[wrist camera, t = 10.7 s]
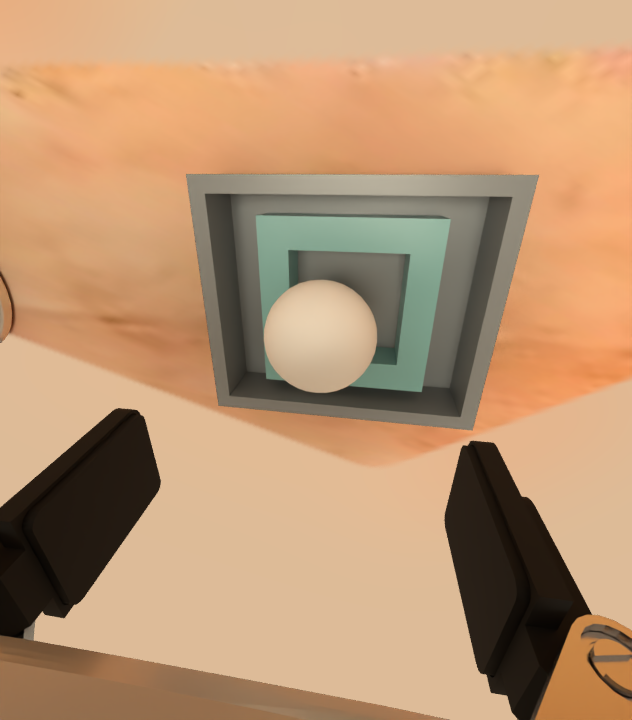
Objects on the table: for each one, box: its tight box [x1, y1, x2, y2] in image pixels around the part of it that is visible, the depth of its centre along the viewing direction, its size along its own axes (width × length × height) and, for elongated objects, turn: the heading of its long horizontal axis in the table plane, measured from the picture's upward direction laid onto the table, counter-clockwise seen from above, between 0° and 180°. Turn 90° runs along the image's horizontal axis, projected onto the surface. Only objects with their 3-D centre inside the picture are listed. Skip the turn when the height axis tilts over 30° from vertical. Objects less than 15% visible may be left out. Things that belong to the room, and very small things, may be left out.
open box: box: [186, 174, 539, 430], centre depth 24 cm, size 19×16×5 cm
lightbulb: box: [264, 280, 377, 393], centre depth 21 cm, size 6×6×11 cm
